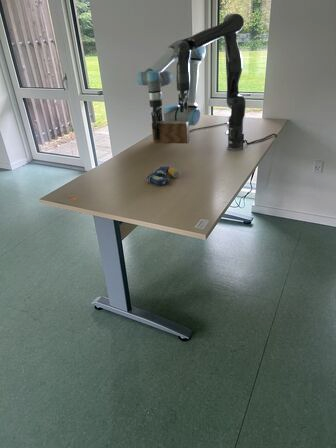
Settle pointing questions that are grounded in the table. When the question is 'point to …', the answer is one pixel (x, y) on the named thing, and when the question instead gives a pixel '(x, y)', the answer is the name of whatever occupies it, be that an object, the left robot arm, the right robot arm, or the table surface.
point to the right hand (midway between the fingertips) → (183, 110)
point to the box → (172, 132)
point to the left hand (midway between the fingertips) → (159, 137)
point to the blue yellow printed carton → (162, 175)
